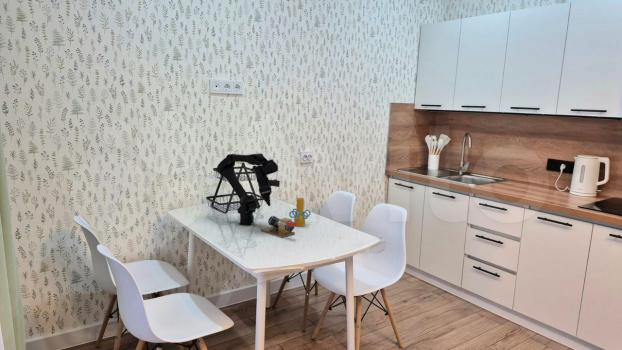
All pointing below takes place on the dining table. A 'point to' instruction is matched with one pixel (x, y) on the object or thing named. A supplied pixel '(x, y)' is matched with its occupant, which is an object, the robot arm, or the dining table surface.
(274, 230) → the valve
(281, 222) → the lever
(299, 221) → the orange post with rings
